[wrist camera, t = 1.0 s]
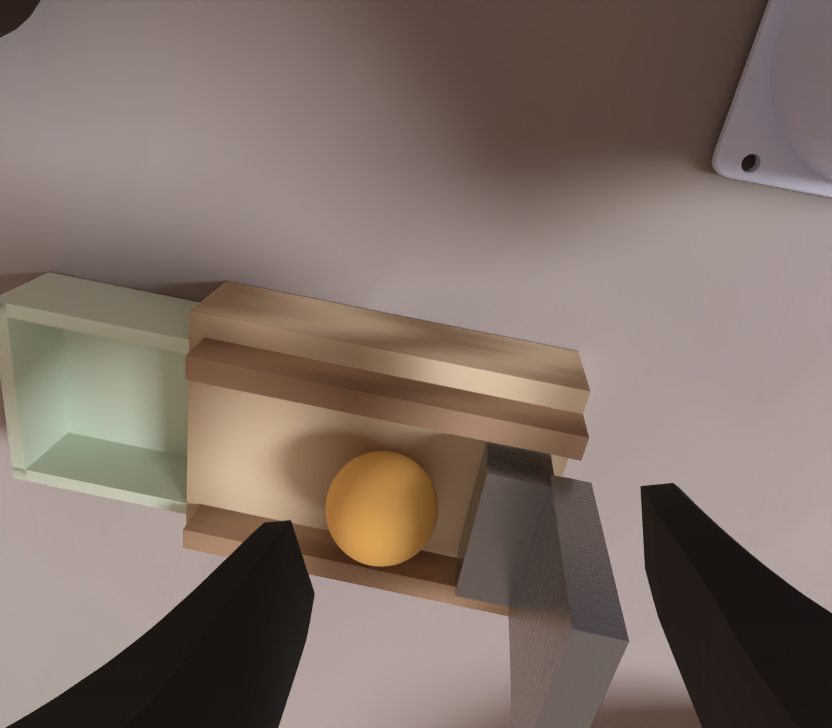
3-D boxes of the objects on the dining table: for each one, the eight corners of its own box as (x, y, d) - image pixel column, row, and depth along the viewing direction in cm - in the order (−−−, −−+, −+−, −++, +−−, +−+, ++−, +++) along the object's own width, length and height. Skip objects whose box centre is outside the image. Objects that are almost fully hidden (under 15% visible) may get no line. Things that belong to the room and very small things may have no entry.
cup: (224, 307, 23) (189, 340, 20) (218, 467, 26) (186, 514, 23) (49, 272, 23) (-11, 299, 20) (63, 435, 26) (13, 477, 23)
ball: (451, 441, 21) (444, 510, 17) (431, 526, 22) (422, 602, 19) (345, 420, 21) (319, 484, 18) (333, 505, 22) (307, 578, 19)
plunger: (583, 450, 20) (629, 641, 13) (541, 574, 22) (562, 789, 16) (488, 431, 20) (487, 611, 13) (456, 556, 22) (441, 763, 16)
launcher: (578, 351, 22) (597, 414, 18) (516, 549, 26) (520, 636, 22) (226, 281, 22) (168, 327, 18) (217, 486, 26) (168, 562, 22)
